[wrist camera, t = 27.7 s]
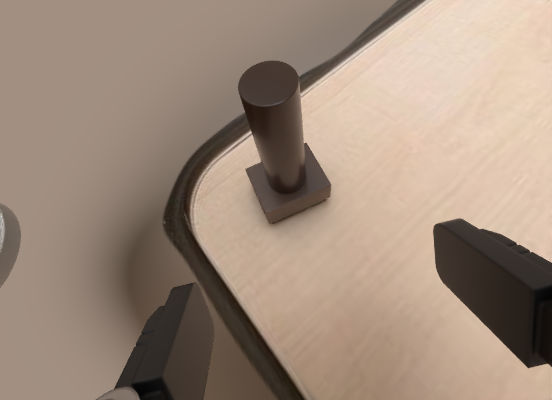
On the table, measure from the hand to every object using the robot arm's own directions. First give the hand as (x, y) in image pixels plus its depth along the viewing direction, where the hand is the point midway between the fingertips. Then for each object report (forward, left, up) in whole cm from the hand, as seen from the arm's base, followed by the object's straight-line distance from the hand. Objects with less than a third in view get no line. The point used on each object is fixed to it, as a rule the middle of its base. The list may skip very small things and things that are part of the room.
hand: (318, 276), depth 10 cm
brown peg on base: (+3, +8, -11) cm, 14 cm away
